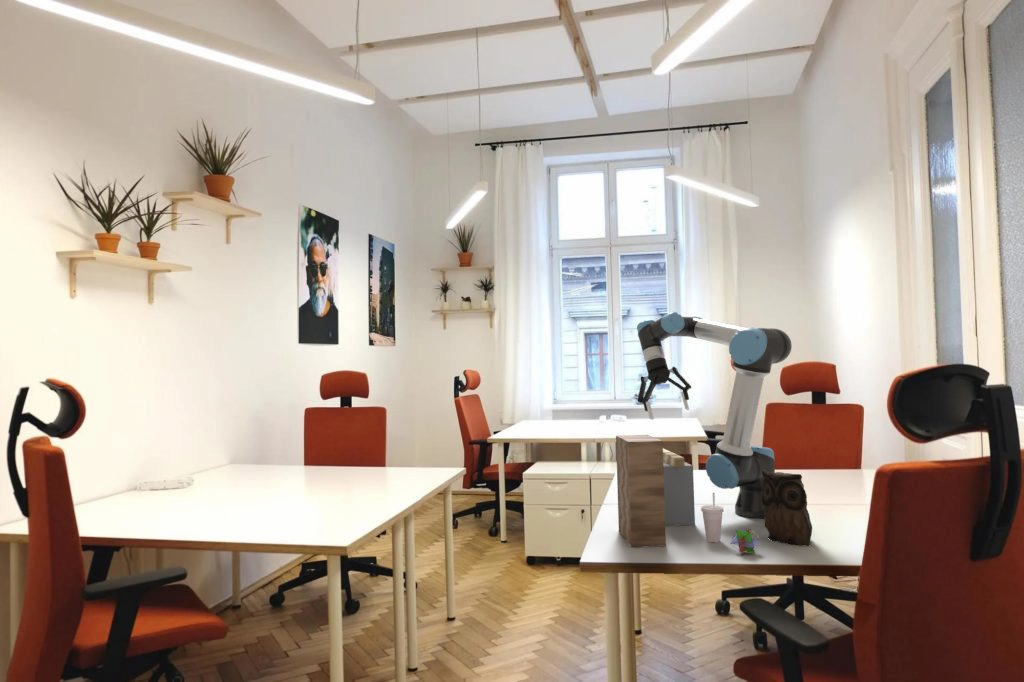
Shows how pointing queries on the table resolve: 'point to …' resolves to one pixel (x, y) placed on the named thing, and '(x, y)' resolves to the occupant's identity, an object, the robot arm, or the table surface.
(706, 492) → the table surface
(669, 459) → the notched wooden bar
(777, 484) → the owl
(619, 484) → the tall wooden pillar
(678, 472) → the block
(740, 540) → the geometric puzzle
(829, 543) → the table surface
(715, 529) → the smoothie
